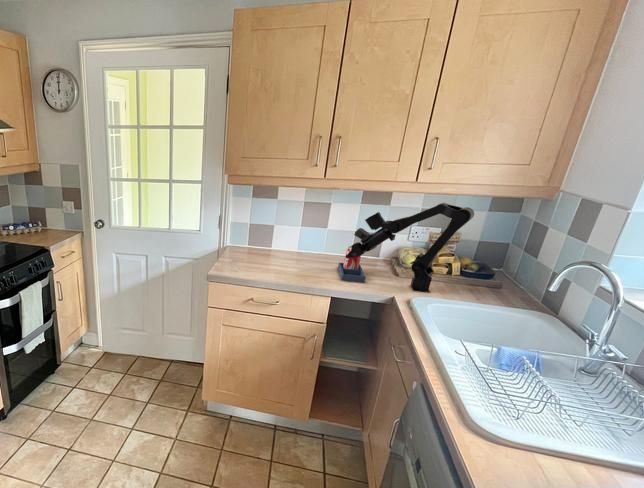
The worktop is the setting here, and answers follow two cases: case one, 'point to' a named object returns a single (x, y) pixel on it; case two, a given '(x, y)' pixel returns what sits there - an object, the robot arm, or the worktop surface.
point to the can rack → (351, 274)
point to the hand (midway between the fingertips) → (349, 255)
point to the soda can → (351, 261)
